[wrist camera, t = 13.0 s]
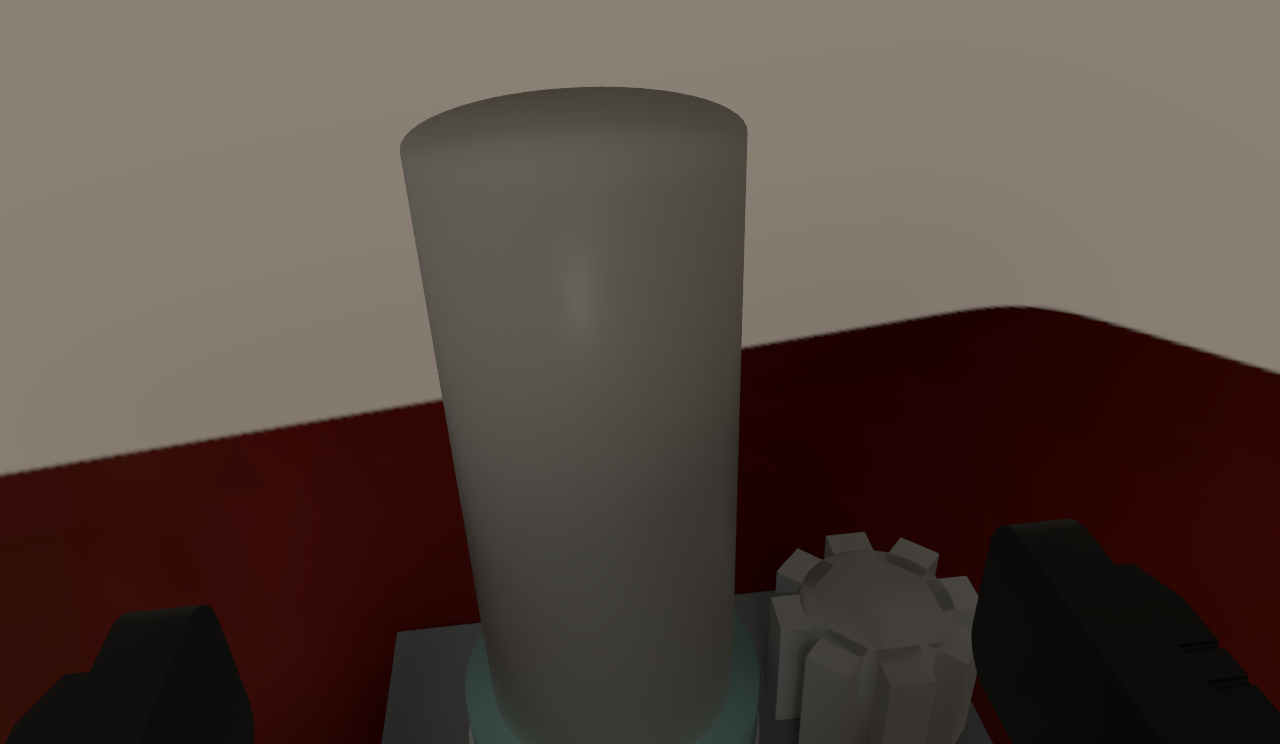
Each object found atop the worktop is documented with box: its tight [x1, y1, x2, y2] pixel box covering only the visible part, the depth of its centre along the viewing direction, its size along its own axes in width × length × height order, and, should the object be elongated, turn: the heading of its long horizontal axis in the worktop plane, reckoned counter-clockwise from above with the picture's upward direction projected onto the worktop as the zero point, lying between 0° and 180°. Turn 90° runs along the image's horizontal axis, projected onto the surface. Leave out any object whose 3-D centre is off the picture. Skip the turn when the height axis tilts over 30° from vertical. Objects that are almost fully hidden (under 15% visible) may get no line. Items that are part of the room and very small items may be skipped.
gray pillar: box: [400, 87, 760, 744], centre depth 15 cm, size 5×5×12 cm
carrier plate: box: [382, 532, 993, 744], centre depth 18 cm, size 12×6×3 cm, turn 97°
